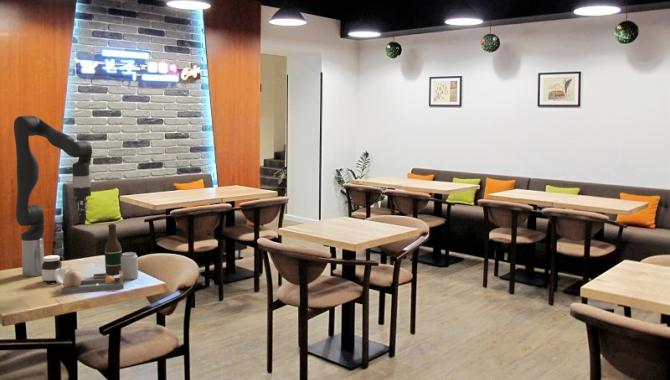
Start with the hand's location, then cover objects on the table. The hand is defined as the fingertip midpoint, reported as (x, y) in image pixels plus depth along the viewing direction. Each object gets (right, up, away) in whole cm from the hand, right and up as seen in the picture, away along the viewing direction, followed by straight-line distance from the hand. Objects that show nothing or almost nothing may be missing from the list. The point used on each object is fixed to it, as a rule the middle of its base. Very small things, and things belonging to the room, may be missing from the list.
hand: (83, 221), depth 283 cm
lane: (+6, -29, -6) cm, 30 cm away
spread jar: (-14, -28, +3) cm, 31 cm away
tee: (+6, -28, +4) cm, 29 cm away
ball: (+13, -26, -4) cm, 30 cm away
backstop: (+18, -29, -2) cm, 34 cm away
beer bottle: (+7, -26, +19) cm, 33 cm away
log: (-1, -29, -8) cm, 31 cm away
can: (+18, -27, +10) cm, 34 cm away
